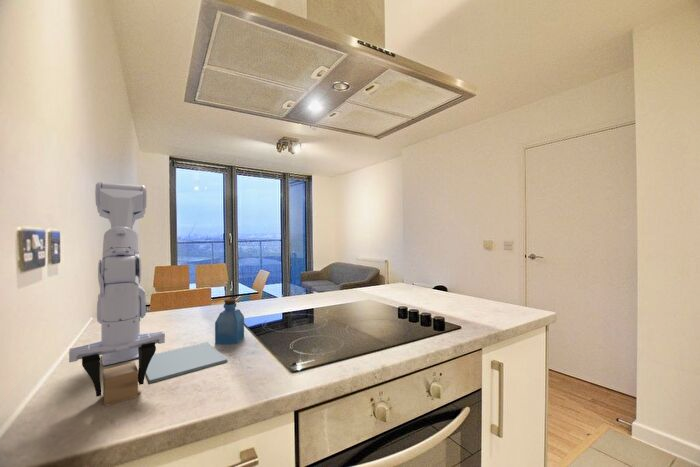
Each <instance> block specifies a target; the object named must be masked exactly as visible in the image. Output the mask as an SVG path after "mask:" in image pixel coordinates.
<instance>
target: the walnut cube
mask: <svg viewBox="0 0 700 467" xmlns="http://www.w3.org/2000/svg"><path fill="white" fill-rule="evenodd" d="M138 369H139V368H137V365H136V362H131V363H127V364H122V365H118V366H114V367H113V366H112V367H110V368H105V369H103V371H102V372H103V376H102V379H103V380H102V383H103V384H102V387H103V388H102V396H103V398H102V399H103V404H104V407H106V406H110V405H114V404H116V403H120V402H124V401H126V400H130V399H134V398H137V397H138V396H139V383H138Z"/></svg>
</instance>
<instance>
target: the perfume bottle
mask: <svg viewBox="0 0 700 467" xmlns="http://www.w3.org/2000/svg"><path fill="white" fill-rule="evenodd" d="M236 300H237V299H236V298H226V299H224V300H223V301H224V304H223V309H224V310H223V311H221V312H220V313H219V315H218V317H217V319H216V320H215V321H214V322H215V323H214V344H215V345H238V344H239V342H241V340H243V338H244V337H245V316H244V314H243V313H242V312H241V310H240V309H239V308H237V302H236Z"/></svg>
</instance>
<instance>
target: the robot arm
mask: <svg viewBox="0 0 700 467" xmlns="http://www.w3.org/2000/svg"><path fill="white" fill-rule="evenodd" d="M94 192H95V193H94V194H95V195H94V196H95V198H94V200H95V206H96V209H97V213H98V214H99V217H102V218H104V219H107V220H108V222H109V223H110V228H109V229H108V230H106V231H105V232H104V234H103V242H102V243H103V244H102V255H101V256H102V257H101V259H99V261H98V264H97V265H98V266H97V279H98V280H97V281H98V285H99V293H98V296H97V301H96V302H97V303H96V321H97V323H99V324H101V326H100V327H101V329H100V330H101V332H100V333H101V336H100V338H101V340H100V341H96V342H94V343H89V344H85V345H81V346H77V347H72V348H69V351H68V362H69V363H74V362H77V361H79V360H81V366H82V368H83V369H84V370H85V372H86V373H87V376H89V379H90V380H91V382H92V385H93V387H94V391H95V397H101V396H102V385H101V383H102V382H101V362H102V366H109V365H113V364H117V363H122V362H126V361H131V360H135V359H138V368H137V369H138V386H141V385H144V383H145V382H144V381H145V377H146V371H147V368H148V365H149V363H150V361H151V359H152V357H153V355H154V354H156V351H157V347H156V344H161V345H162V344H165V342H166V340H165V339H166V335H165V332H164V331H158V332H150V333H140V322H141V319H144V318H145V316H146V314H147V306H146V305H147V304H146V303H147V301H146V291H145V289H144V287H143V286H141V285H140V284H141V280H142V260H141V256H140V251H139V240H138V239H139V238H138V236H139V235H138V234H137V232H136V230H134V229H133V226H134V224H135V223H136V221H137V220H139V219H143V218H144V217H145V215H146V208H147V187H146V186H145V185H144V184H139V185H138V184H127V183H126V184H125V183H115V182H114V183H112V182H102V181H98V182H97V183H96V184H95V191H94ZM136 277H137V278H138V283H137V282H136ZM100 356H101V357H100Z"/></svg>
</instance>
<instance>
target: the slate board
mask: <svg viewBox="0 0 700 467" xmlns="http://www.w3.org/2000/svg"><path fill="white" fill-rule="evenodd" d="M224 363H228V358H227V357H226V356H224V355H223V353H221V352H220V351H219V350H217V349H216V348H215V347H214V346H213V345H212V344H211V343H209V341H208V342H207V341H206V342H202V343H198V344H193V345H188V346H184V347H180V348H176V349H171V350H167V351H162V352H157V353H154V355H153V357H152V359H151V361H150V363H149V365H148V368H147V371H146V374H145V377H146V378H147V380H148V382H149V384H152V383H155V382H158V381H163V380H166V379H170V378H175V377H177V376H180V375H184V374H188V373H191V372H195V371H199V370H202V369H205V368H209V367H213V366H216V365H221V364H224Z"/></svg>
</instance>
